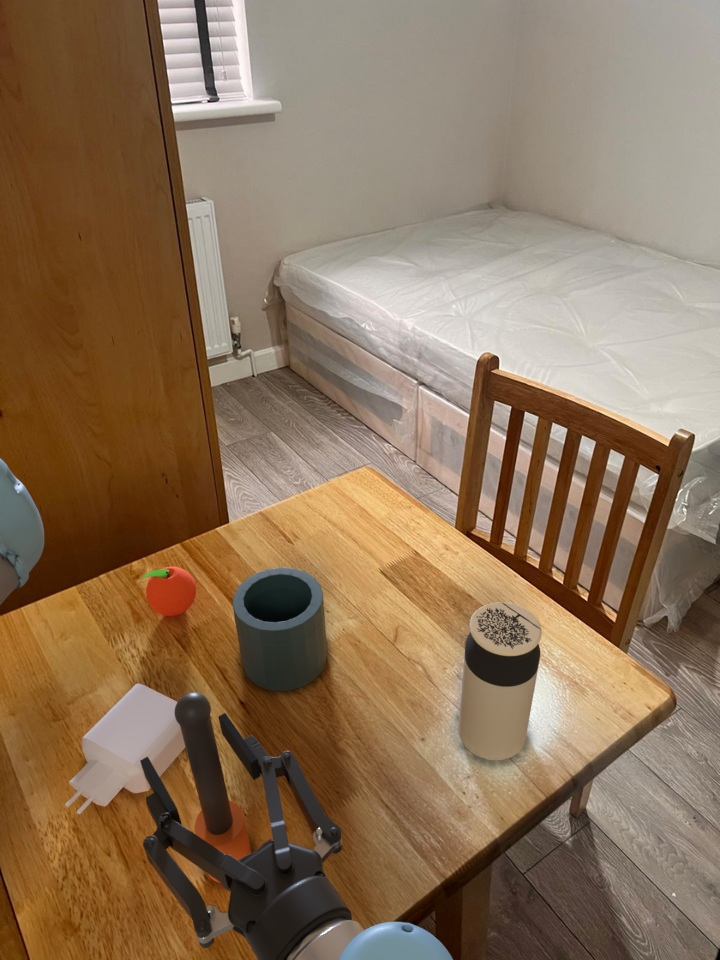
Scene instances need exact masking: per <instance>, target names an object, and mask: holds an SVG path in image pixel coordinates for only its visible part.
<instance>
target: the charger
mask: <svg viewBox="0 0 720 960" xmlns="http://www.w3.org/2000/svg"><path fill="white" fill-rule="evenodd" d="M177 702H178V700H177V701H176V700H174V699H172V698H170V697H169V696H167V695H165V694H163V693H160V692H159V691H157V690H154V689H152V688H150V687H148V686H147V685H144V684H142V683H137V682H136V684H134V685H133V687H132V688H130V689H129V690H128V692H126V693H125V695H123V696H122V697H121V699H119V701H117V703H116V704H114V706H113V707H111V709H109V710H108V711H107V712H106V713H105V714H104V716H103V717H101V719H100V720H99V721H97V723H95V724H94V725H93V726H92V727H91V729H89V731H88V732H87V733H86V734H85V735H84V736H83V737H81V750H82V753H83V755H84V758H85V761H86V763H85V765H84V766H83V767H82V768H81V769H80V770H79V771H78V772H77V773H76V774H75V775H74V776H73V777H72V778H71V779H70V780H69V782H68V784H69V785H70V786H71V788H73V789H74V790H75V793H74V794H73V795H72V796H71V797H70V798H69V799H68V801H66V803H65V804H64V806H65V807H66V808H69V807H71V805H72V804H73V803H74V802H75V801H76V800H77V799H78V798H79V797H80V796H82V797H84V798H85V799H86V800H85V802H84V803H82V805H81V806H80V807H79V808H78V809H77V810H76V814H77V815H81V814H82V813H83V812H84V811H85V810H86V808H88V806H89V805H90V804H91V803H93V804H96V805H97V806H101V807H106V806H108V805H109V804H110V803H111V801H112V800H113V799H114V798H115V797H116V796H117V794H118V793H119V792H120V791H121V790H122V789H123V788H124V789H126V790H127V791H129V792H131V793H133V794H139V793H144V792H148V791H150V790H151V787H150V785H149V783H148V781H147V779H146V777H145V774H144V771H143V768H142V765H141V762H140V760H142V759H144V758H146V757H147V756H148V758H149V760H150V761H151V763H152V765H153V767H154V768H155V770H156V772H157V774H158V776H159V777H160V778H161V777H162V775H163V774H164V773H165V772H166V771H167V770H168V768H170V766H171V765H172V764H173V762H174V761H176V759H177V758H178V757H179V756H180V754H181V753H182V752H183V751H184V749H186V747H185V743H184V739H183V736H182V732H181V728H180V725H179V724H178V722H177V721H176V718H175V706H176V704H177Z"/></svg>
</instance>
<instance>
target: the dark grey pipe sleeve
mask: <svg viewBox="0 0 720 960" xmlns="http://www.w3.org/2000/svg"><path fill="white" fill-rule="evenodd" d="M323 593H324V592H323V588H322V586H321V584H320V583H319V582H318V579H316V577H314V576H312V575H311V574H309V572H306V571H304V570H300V569H298V568H294V567H273V568H267V569H263V570H261V571H258V572H255V573H253V574H252V575H251V576H248V578H246V579H244V580H243V581H242V582H241V583H240V584H239V586H238V587H237V588H236V590H235V593H234V595H233V597H232V610H233V611H232V612H233V618H234V623H235V630H236V634H237V640H238V648H239V651H240V658H241V664H242V667H243V671H244V673H245V675H246V676H247V678H248V679H249V680H250V681H251V682H252V683H253V684H254V685H256V686H258V687H260V688H262V689H265V690H268V691H274V692H289V691H294V690H297V689H300V688H302V687H305V686H307V685H308V684H310V683H311V682H313V681H314V680H316V679H317V678H318V676H319V675H320V674H321V673H322V671H323V670H324V668H325V666H326V663H327V660H328V659H327V658H328V645H327V643H328V642H327V632H326V631H327V630H326V616H325V603H324V601H325V600H324V594H323Z"/></svg>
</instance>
